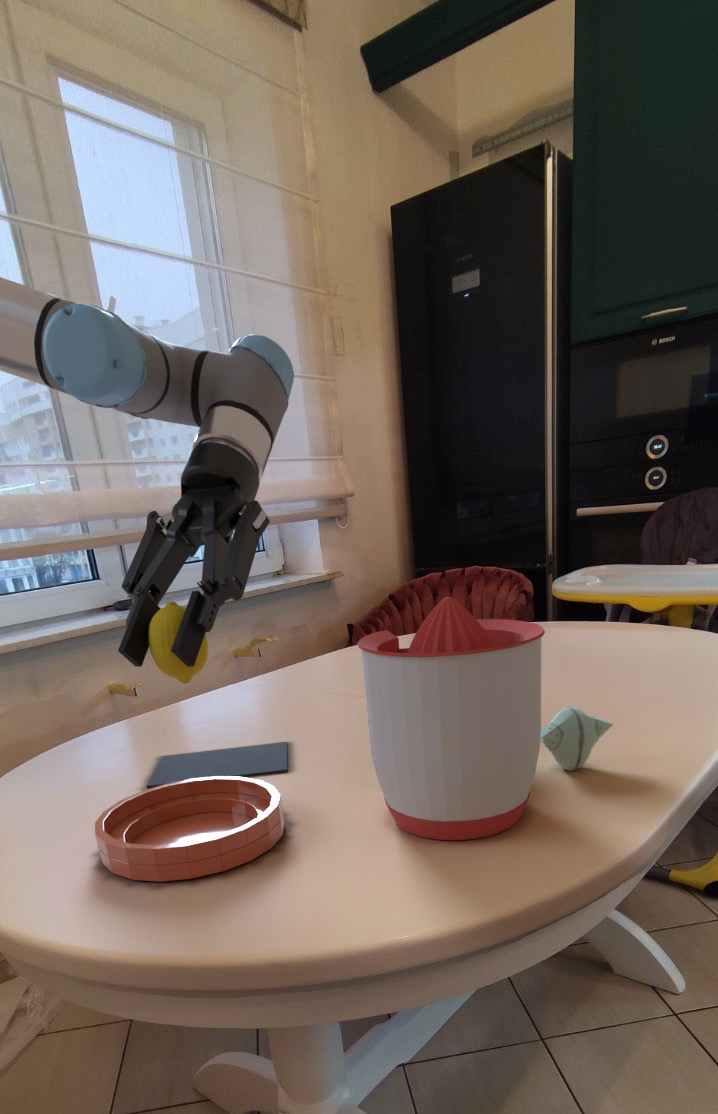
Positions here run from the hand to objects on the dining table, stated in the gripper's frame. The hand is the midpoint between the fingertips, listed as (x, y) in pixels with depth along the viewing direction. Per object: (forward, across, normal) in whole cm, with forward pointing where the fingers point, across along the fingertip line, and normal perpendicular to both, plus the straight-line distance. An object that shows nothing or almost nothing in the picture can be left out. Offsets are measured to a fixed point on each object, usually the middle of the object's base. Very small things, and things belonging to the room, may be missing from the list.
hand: (155, 658), depth 68 cm
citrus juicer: (+7, -26, -16) cm, 32 cm away
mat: (+2, +5, -21) cm, 22 cm away
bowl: (+15, -5, -8) cm, 18 cm away
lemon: (0, 0, -5) cm, 5 cm away
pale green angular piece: (-2, -35, -26) cm, 43 cm away
